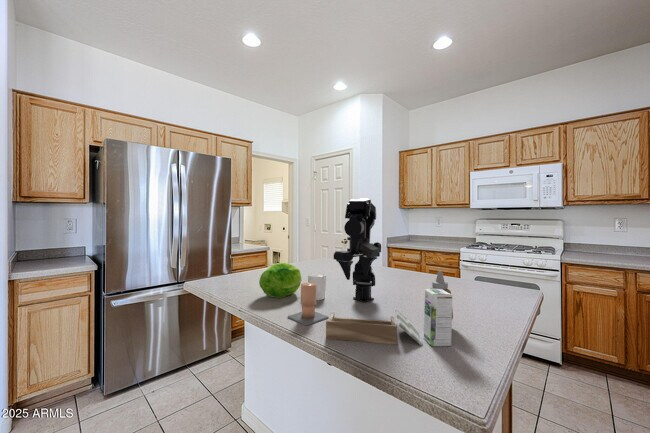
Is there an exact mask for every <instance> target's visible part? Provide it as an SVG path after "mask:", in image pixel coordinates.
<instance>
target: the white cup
mask: <svg viewBox="0 0 650 433" xmlns="http://www.w3.org/2000/svg"><path fill="white" fill-rule="evenodd" d="M307 283H315V284H317V288H316V301H321V300H324V299H325V298H326V288H327V287H326V285H327V274H326V273H323V272H311V273H308V274H307Z"/></svg>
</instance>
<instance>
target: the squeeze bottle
mask: <svg viewBox="0 0 650 433" xmlns="http://www.w3.org/2000/svg"><path fill="white" fill-rule="evenodd" d="M431 283H432V284H431V285H432V287H430V288H429V289H443V290H444V291H446V292H448V293H450V294H452V292H451V290H450V289H449V283H448V282H446V281H445V278H444V273H443V270H438V271H437V275H436V279H435V280H432V282H431ZM453 319H454V311H453V308H452V320H453Z"/></svg>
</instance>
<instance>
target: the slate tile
mask: <svg viewBox="0 0 650 433" xmlns="http://www.w3.org/2000/svg"><path fill="white" fill-rule="evenodd" d="M287 318H288V319H290V320H292V321H295V322H297V323H300V324H302V325H304V326H306V327H308V326H311V325H314V324H316V323H319V322H321V321H325V320H328V319H330V317H329V316H328V315H325V314H322V313H319V311H315V317H314V318H311V319H305V318H302V311H299V312H296V313H294V314H290V315H287Z"/></svg>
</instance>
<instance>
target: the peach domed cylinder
mask: <svg viewBox="0 0 650 433" xmlns="http://www.w3.org/2000/svg"><path fill="white" fill-rule="evenodd" d="M316 288H317V284H315V283H308V282H303V283H302V282H301V283H300V304H301V312H302V318H305V319H311V318H314V317H315V312H316V304H317V300H316Z"/></svg>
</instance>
